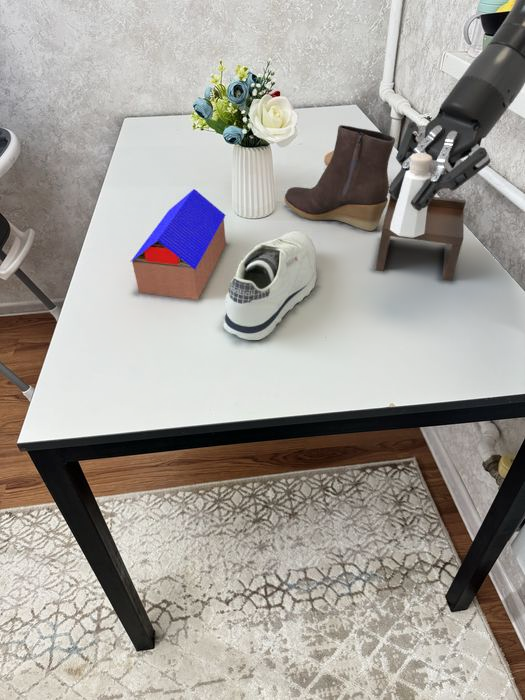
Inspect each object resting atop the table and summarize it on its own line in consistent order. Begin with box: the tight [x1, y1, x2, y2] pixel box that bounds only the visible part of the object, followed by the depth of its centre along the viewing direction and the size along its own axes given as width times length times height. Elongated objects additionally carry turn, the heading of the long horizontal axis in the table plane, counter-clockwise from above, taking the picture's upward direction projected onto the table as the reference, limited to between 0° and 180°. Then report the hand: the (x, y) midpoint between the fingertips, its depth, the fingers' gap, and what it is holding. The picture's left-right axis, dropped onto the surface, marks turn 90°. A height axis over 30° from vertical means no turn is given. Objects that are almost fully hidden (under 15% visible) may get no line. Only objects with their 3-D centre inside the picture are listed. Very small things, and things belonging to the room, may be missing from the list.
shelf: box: [375, 194, 467, 282], centre depth 94 cm, size 14×12×10 cm
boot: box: [284, 124, 396, 232], centre depth 104 cm, size 9×24×20 cm, turn 58°
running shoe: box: [222, 230, 318, 341], centre depth 85 cm, size 11×29×12 cm, turn 158°
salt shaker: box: [390, 152, 432, 238], centre depth 70 cm, size 5×5×11 cm
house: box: [130, 188, 227, 301], centre depth 92 cm, size 12×20×12 cm, turn 168°
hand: (403, 201), depth 70 cm, fingers closed on salt shaker, 3 cm apart
